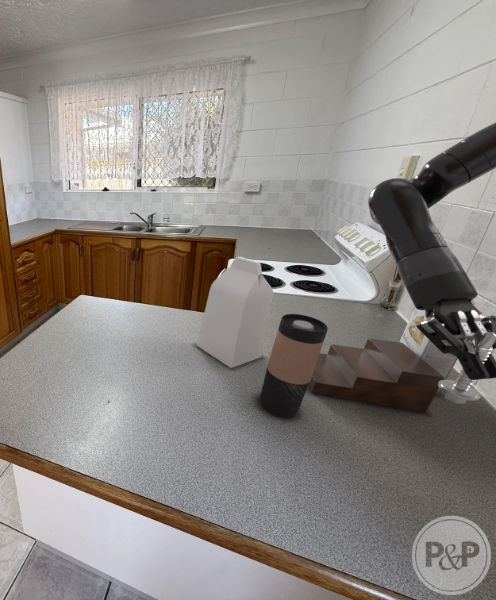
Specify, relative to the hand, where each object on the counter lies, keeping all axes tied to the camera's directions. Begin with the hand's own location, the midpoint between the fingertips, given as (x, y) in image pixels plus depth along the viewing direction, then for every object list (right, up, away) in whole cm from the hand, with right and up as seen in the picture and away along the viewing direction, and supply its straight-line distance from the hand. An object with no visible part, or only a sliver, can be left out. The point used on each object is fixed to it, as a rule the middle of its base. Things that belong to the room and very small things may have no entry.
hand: (486, 378), depth 49 cm
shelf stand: (-1, -7, +25) cm, 26 cm away
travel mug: (-23, -10, +17) cm, 30 cm away
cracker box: (+17, -7, +28) cm, 34 cm away
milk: (-25, -2, +37) cm, 45 cm away
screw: (0, -5, +4) cm, 6 cm away
